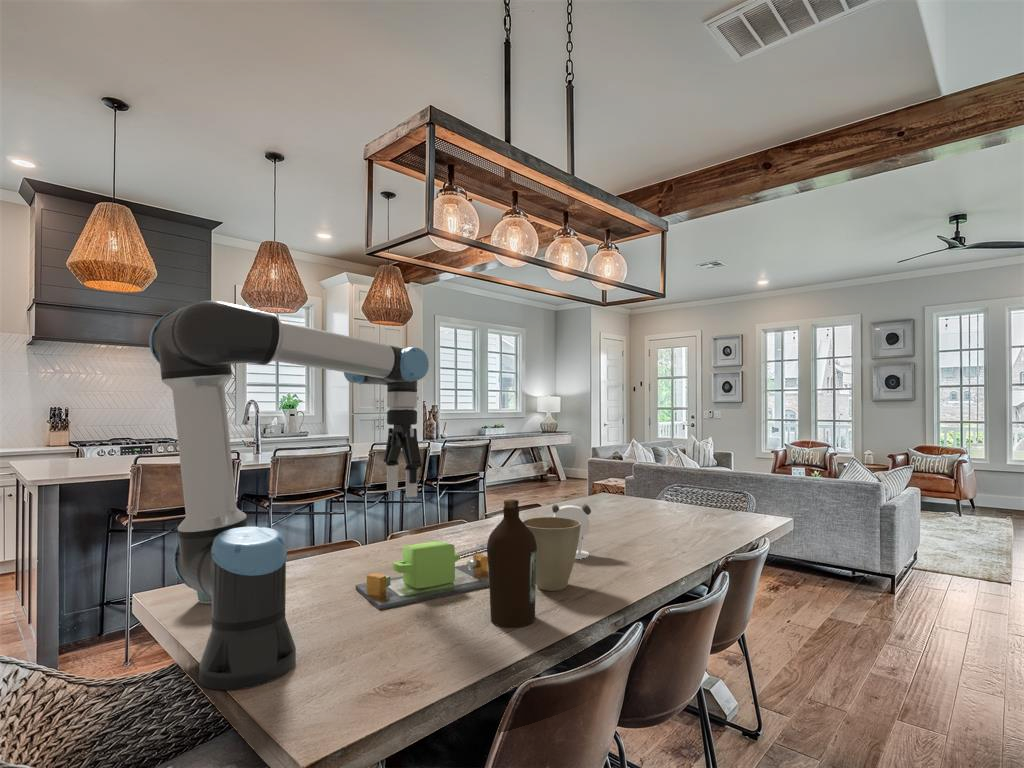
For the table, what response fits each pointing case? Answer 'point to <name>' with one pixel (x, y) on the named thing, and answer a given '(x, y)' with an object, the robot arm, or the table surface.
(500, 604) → the olive oil
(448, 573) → the green block with lugs
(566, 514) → the panda figurine
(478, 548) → the adjustable wrench
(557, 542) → the plant pot
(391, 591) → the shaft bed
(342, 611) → the table surface
